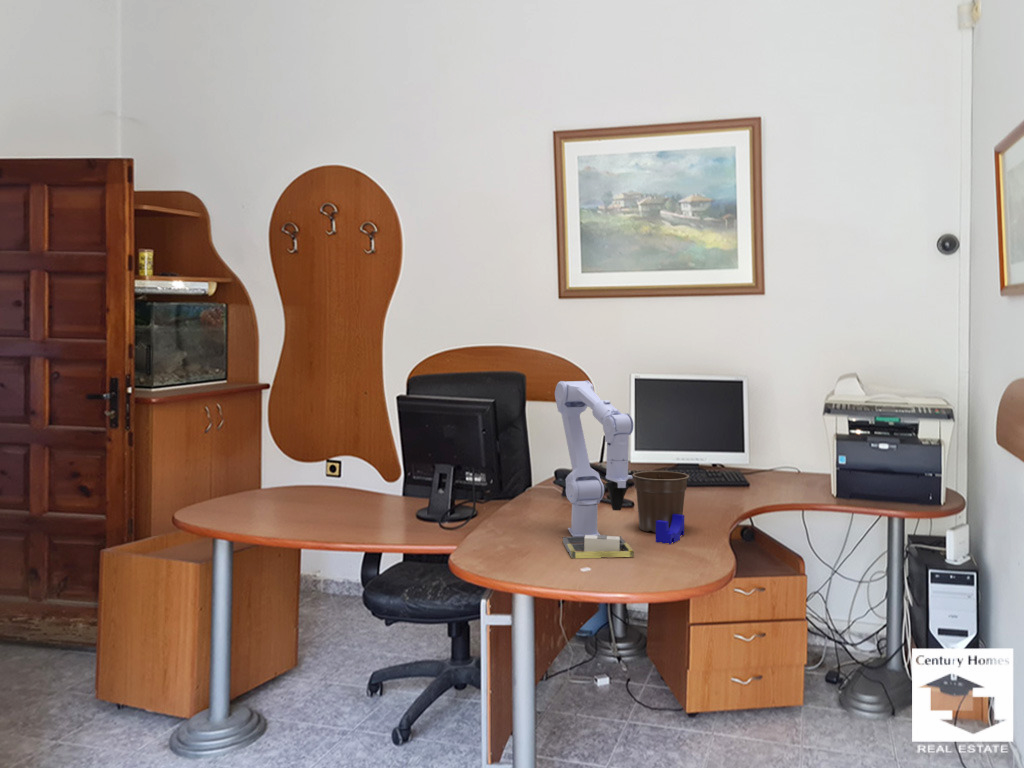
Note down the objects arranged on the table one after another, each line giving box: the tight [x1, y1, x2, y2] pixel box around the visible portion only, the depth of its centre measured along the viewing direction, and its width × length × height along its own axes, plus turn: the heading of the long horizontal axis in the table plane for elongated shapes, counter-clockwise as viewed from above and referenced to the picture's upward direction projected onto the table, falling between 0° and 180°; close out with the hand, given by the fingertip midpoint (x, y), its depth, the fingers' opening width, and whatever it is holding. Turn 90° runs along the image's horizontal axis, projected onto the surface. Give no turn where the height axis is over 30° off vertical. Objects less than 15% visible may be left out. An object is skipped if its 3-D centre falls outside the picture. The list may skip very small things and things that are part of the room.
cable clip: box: [655, 514, 685, 545], centre depth 246 cm, size 12×4×6 cm, turn 145°
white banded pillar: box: [583, 534, 621, 552], centre depth 230 cm, size 4×9×5 cm, turn 82°
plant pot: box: [632, 470, 690, 534], centre depth 258 cm, size 16×16×16 cm
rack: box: [562, 536, 635, 559], centre depth 234 cm, size 17×16×2 cm
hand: (616, 509), depth 236 cm, fingers closed
